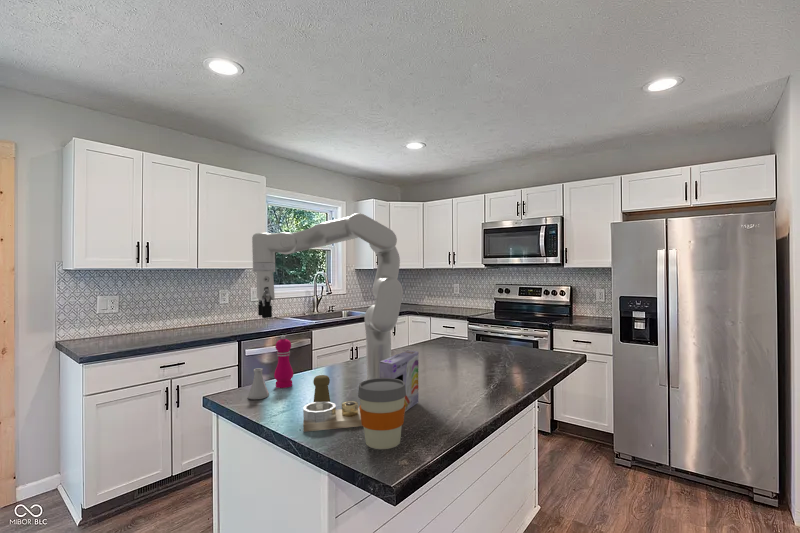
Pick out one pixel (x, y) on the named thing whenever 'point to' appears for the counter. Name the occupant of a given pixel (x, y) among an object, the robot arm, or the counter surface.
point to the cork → (321, 388)
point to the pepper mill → (283, 364)
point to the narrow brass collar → (349, 409)
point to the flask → (258, 386)
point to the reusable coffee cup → (382, 411)
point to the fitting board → (334, 422)
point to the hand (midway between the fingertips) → (265, 316)
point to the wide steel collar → (319, 412)
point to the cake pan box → (403, 374)
